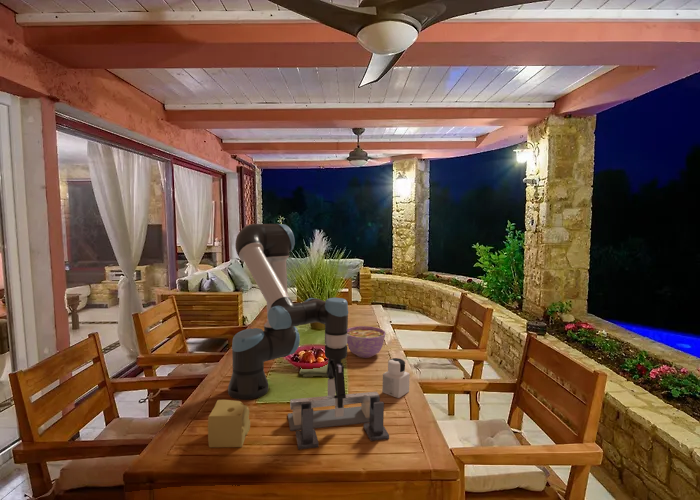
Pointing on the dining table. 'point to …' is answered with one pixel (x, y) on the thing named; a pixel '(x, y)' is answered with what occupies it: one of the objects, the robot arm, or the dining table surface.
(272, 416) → the dining table surface
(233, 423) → the cheese
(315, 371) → the washcloth
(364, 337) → the bowl of food
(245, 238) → the robot arm
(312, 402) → the rail
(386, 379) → the container
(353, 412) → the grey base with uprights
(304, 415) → the grey rack
